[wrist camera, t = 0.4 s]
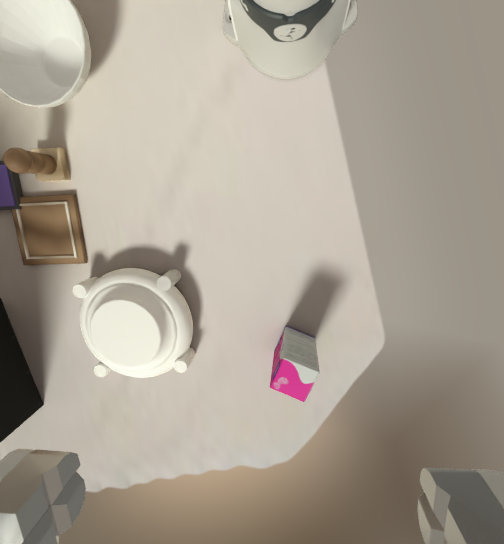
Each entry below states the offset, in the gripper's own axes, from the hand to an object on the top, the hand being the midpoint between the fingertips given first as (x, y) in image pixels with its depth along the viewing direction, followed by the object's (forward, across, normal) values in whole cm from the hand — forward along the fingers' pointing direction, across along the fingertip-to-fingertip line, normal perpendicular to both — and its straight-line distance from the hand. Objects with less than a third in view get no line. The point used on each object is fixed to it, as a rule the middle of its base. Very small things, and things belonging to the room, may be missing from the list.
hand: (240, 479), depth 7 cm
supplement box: (+46, -2, +20) cm, 51 cm away
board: (+46, +41, -2) cm, 62 cm away
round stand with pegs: (+47, +26, +15) cm, 56 cm away
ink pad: (+46, +49, -10) cm, 68 cm away
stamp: (+46, +38, -13) cm, 61 cm away
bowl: (+47, +33, -28) cm, 64 cm away
